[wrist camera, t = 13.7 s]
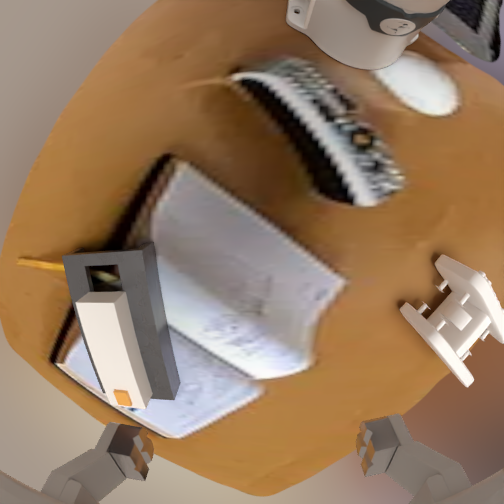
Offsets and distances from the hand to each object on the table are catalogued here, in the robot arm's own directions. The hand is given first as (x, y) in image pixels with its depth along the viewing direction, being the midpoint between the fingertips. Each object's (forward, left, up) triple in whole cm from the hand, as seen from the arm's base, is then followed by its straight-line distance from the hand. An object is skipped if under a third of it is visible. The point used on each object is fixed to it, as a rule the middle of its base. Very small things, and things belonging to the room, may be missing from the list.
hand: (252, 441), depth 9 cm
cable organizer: (+10, +27, -29) cm, 41 cm away
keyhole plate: (+9, -19, -28) cm, 35 cm away
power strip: (+11, -19, -28) cm, 35 cm away
